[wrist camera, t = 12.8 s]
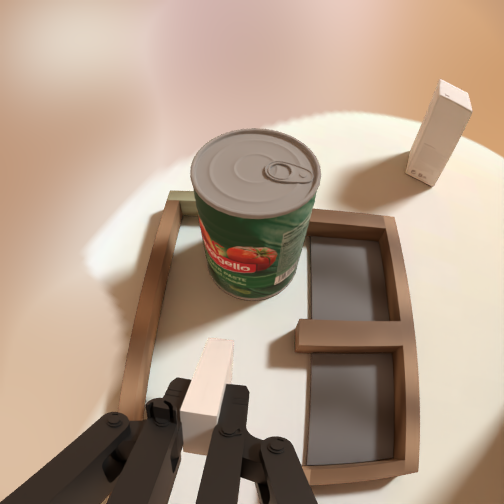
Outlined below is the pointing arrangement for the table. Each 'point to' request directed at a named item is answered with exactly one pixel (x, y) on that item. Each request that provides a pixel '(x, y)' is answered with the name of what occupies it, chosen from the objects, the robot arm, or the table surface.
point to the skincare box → (439, 132)
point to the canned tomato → (254, 208)
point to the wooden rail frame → (325, 344)
